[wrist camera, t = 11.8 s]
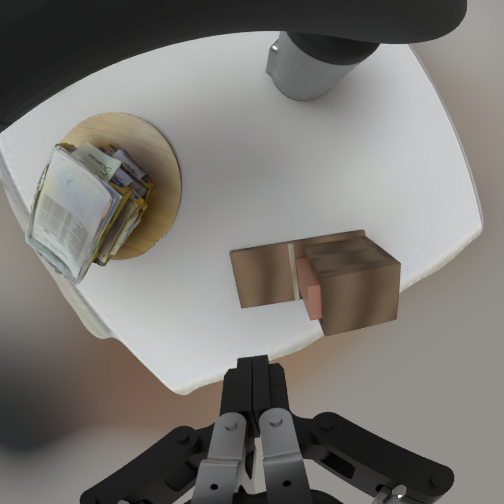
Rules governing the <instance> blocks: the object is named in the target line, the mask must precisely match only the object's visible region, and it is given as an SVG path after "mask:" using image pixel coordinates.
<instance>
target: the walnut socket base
mask: <svg viewBox="0 0 504 504" xmlns="http://www.w3.org/2000/svg"><path fill="white" fill-rule="evenodd" d="M304 257H306V258H307V260H308V261H309V263H310V265H311V267H312V269H313V271H314V273H315V275H316V277H317V278H318V280H319V282H320V288H321V304H322V318H321V319H319V322H320V325H321V327H322V330H323V333H324V335H325V336H329V335H334V334H338V333H342V332H348V331H352V330H356V329H361V328H365V327H369V326H373V325H377V324H381V323H385V322H388V321H392V320H395V319H397V309H398V298H399V286H400V269H401V263H400V262H399V261H397V260H396V259H395V258H394V257H392V256H391V255H390V254H388V253H387V252H386V251H385V250H383V249H382V248H381V247H379V246H378V245H377V244H375V243H374V242H373V241H371V240H370V239H369V238H367V237H366V236H365V231H364V230H356V231H350V232H343V233H337V234H331V235H325V236H319V237H312V238H306V239H300V240H294V241H288V242H281V243H275V244H269V245H263V246H257V247H251V248H245V249H239V250H233V251H230V258H231V263H232V267H233V272H234V277H235V281H236V286H237V290H238V295H239V300H240V304H241V308H248V307H255V306H261V305H268V304H274V303H280V302H286V301H292V300H300V299H303V297H302V294H301V292H300V289H299V283H298V274H297V266H296V259H298V258H304Z"/></svg>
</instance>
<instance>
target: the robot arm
mask: <svg viewBox="0 0 504 504" xmlns="http://www.w3.org/2000/svg"><path fill="white" fill-rule="evenodd" d="M466 11H467V0H0V133H1V132H2V131H4V130H5V129H6V128H8V127H9V126H10V125H12V124H13V123H14V122H15V121H17V120H18V119H20V118H21V117H22V116H24V115H25V114H26V113H28V112H29V111H31V110H32V109H33V108H35V107H36V106H38V105H39V104H41V103H42V102H44V101H45V100H47V99H48V98H50V97H51V96H53V95H55V94H56V93H58V92H59V91H61V90H63V89H64V88H66V87H68V86H70V85H71V84H73V83H75V82H77V81H79V80H81V79H83V78H85V77H86V76H88V75H90V74H92V73H95V72H97V71H99V70H101V69H103V68H105V67H108V66H110V65H112V64H115V63H117V62H120V61H122V60H125V59H128V58H130V57H133V56H136V55H139V54H142V53H145V52H148V51H151V50H155V49H158V48H161V47H165V46H168V45H172V44H176V43H180V42H185V41H189V40H194V39H199V38H204V37H209V36H216V35H223V34H230V33H240V32H254V31H280V35H279V38H278V39H277V40H276V41H275V43H274V44H273V45H272V46H271V47H270V49H269V55H268V61H267V67H266V72H267V73H268V74H270V75H271V76H272V79H273V81H274V84H275V85H276V87H277V88H278V89H279V90H280V91H281V92H282V93H283V94H285V95H286V96H288V97H290V98H292V99H296V100H300V101H308V100H313V99H316V98H318V97H320V96H322V95H323V94H325V93H326V92H327V91H328V90H329V89H330V88H331V87H332V86H333V85H335V84H336V83H337V82H338V81H339V80H340V79H342V78H343V77H344V76H345V75H346V74H348V73H349V72H350V71H351V70H352V69H354V68H355V67H356V66H357V65H359V64H360V63H361V62H362V61H364V60H365V59H366V58H367V57H369V56H370V55H371V54H372V53H373V52H374V51H375V50H376V49H377V48H378V46H379V45H380V43H384V44H409V43H419V42H425V41H430V40H434V39H437V38H440V37H442V36H444V35H446V34H448V33H450V32H451V31H453V30H454V29H455V28H456V27H457V26H459V24H460V23H461V21H462V20H463V18H464V16H465V14H466ZM260 434H261V440H262V448H263V456H264V459H263V467H264V475H265V482H266V490H267V491H265V492H262V493H258V494H255V487H254V474H255V463H256V447H255V441H254V440H255V438H257V437H260ZM303 459H312V460H314V461H315V462H316V463H318V464H319V465H321V466H322V467H324V468H325V469H327V470H328V471H330V472H331V473H333V474H334V475H336V476H338V477H339V478H341V479H343V480H344V481H346V482H347V483H349V484H351V485H352V486H354V487H356V488H358V489H359V490H361V491H363V492H365V493H366V494H368V495H370V496H372V497H374V500H373V502H372V504H434V503H435V502H436V501H437V500H439V499H440V498H441V497H442V496H443V495H444V494H445V493H446V492H447V491H448V490H449V489H450V488H451V487H452V485H453V482H454V474H453V471H452V470H451V469H450V468H449V467H447V466H444V465H441V464H439V463H437V462H434V461H432V460H429V459H427V458H424V457H422V456H420V455H417V454H415V453H413V452H410V451H408V450H406V449H404V448H402V447H400V446H398V445H395V444H393V443H391V442H389V441H387V440H385V439H383V438H381V437H379V436H377V435H375V434H373V433H371V432H369V431H367V430H365V429H363V428H362V427H359V426H358V425H356V424H354V423H352V422H350V421H349V420H347V419H345V418H343V417H341V416H340V415H338V414H336V413H332V412H324V413H321V414H318V415H316V416H315V417H314V418H313V419H307V418H300V417H298V416H296V415H294V414H293V413H292V412H291V411H290V409H289V402H288V395H287V387H286V380H285V373H284V369H283V367H282V366H281V365H280V364H279V363H275V364H269V360H268V355H261V356H253V357H244V358H238V360H237V368H233V369H229V370H228V371H227V373H226V374H225V376H224V382H223V392H222V399H221V408H220V415H219V418H218V419H217V420H216V422H215V423H213V424H212V425H210V426H208V427H205V428H201V429H198V430H195V429H193V428H192V427H189V426H180V427H177V428H175V429H173V430H172V431H171V432H169V433H168V434H167V435H166V436H164V437H163V438H162V439H160V440H159V441H158V442H157V443H155V444H154V445H153V446H151V447H150V448H149V449H147V450H146V451H144V452H143V453H142V454H140V455H139V456H138V457H137V458H135V459H133V460H132V461H131V462H129V463H128V464H126V465H125V466H123V467H122V468H121V469H119V470H118V471H116V472H115V473H113V474H112V475H110V476H109V477H107V478H106V479H104V480H103V481H101V482H99V483H98V484H96V485H95V486H93V487H91V488H90V489H88V490H86V491H85V492H84V493H83V494H82V495H81V497H80V504H172V503H174V502H175V501H176V500H177V499H179V498H180V497H181V496H183V495H184V494H185V493H186V492H187V491H189V490H190V489H191V488H192V487H193V486H195V488H194V492H193V496H192V499H190V500H188V501H187V502H185V503H184V504H343V503H342V502H340V501H339V500H337V499H336V498H334V497H333V496H331V495H329V494H327V493H325V492H322V491H318V490H313V489H310V487H309V483H308V479H307V475H306V471H305V467H304V462H303Z"/></svg>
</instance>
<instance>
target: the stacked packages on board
mask: <svg viewBox="0 0 504 504" xmlns="http://www.w3.org/2000/svg"><path fill="white" fill-rule="evenodd" d="M38 184H39V185H38V187H37V191H36V194H35V195H34V196H35V197H34V200H33V202H32V205H31V213H30V216H29V221H28V226H27V229H26V236H25V240H26V242H27V243H28V245H30V246H31V247H32V248H33V249H35V250H36V251H37V253H38V254H39V255H40V256H41V257H43V258H44V259H45V260H46V261H47V262H48V263H49V264H50V265H51V266H53V267H54V268H55V270H56V271H55V272H56V273H58V272H59V273H61V274H62V273H63V275H64V278H65V277H66V278H68V279H69V280H71V281H72V282H74V284H79V283H80V282H81V280H82V279H83V278H84V276H85V274H86V273H87V271H88V269H89V267H90V265H91V263H92V262H93V263H97V264H98V265H100V266H105V265H106V264H107V262H108V261H109V260H110V259H113V260H120V259H128V258H133V257H136V256H139V255H141V254H143V253H145V252H146V251H148V250H149V249H150V248H151V247H152V246H154V245H155V243H156V242H157V241H159V239H160V238H162V237H163V236H164V235H166V234H167V232H168V231H169V229H170V228H171V226H172V224H173V222H174V220H175V217H176V214H177V211H178V208H179V203H180V196H181V180H180V173H179V168H178V164H177V161H176V158H175V156H174V154H173V152H172V150H171V148H170V146H169V144H168V143H167V141H166V140H165V139H164V137H163V136H162V135H161V134H160V133H159V132H158V131H157V130H156V129H155V128H154V127H153V126H151V125H150V124H149V123H147V122H145V121H144V120H142V119H140V118H138V117H135V116H132V115H129V114H124V113H104V114H99V115H96V116H93V117H90V118H88V119H86V120H84V121H83V122H81V123H80V124H78V125H77V126H76V127H74V128H73V129H72V130H71V131H70V132H69V133H68V134H67V135H66V136H65V138H64V139H63V140H62V142H61V143H60V144H56V145H55V147H54V149H53V151H52V153H51V155H50V157H49V161H48V163H47V165H46V166H45V168H44V171H43V173H42V175H41V178H40V181H39V183H38ZM59 273H58V275H59Z"/></svg>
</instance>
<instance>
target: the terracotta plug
mask: <svg viewBox="0 0 504 504" xmlns="http://www.w3.org/2000/svg"><path fill="white" fill-rule="evenodd" d="M296 266H297V274H298V283H299V289H300V292H301V294H302V297H303V300H304V303H305V306H306V309H307V312H308V315H309V318H310V320H316V319H321V318H322V304H321V288H320V282H319V280H318V278H317V277H316V275H315V273H314V271H313V269H312V267H311V265H310V263H309V261H308V260H307V258H306V257H304V258H298V259H296Z"/></svg>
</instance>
